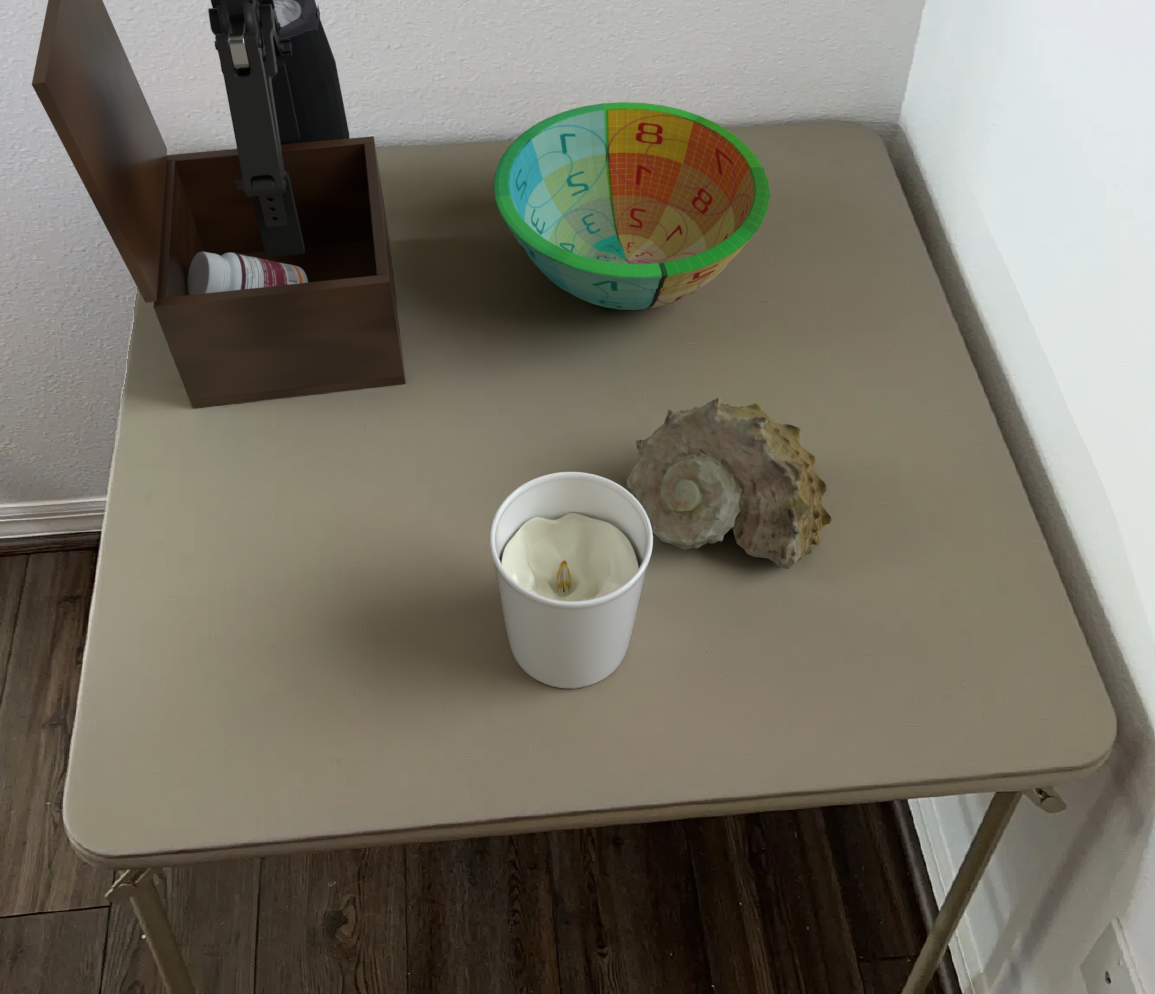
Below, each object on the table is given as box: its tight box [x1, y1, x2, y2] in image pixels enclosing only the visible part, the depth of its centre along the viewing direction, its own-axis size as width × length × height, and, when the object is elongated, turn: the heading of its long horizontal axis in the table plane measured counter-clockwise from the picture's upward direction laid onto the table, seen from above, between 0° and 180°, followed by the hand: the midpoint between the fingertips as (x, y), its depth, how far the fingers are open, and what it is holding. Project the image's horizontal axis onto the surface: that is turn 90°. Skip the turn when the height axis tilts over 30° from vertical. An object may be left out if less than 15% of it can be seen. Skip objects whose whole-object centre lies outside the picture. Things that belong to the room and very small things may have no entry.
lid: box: [31, 0, 168, 304], centre depth 78 cm, size 18×18×1 cm
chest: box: [152, 135, 407, 409], centre depth 91 cm, size 17×18×11 cm
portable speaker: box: [274, 0, 350, 145], centre depth 97 cm, size 9×9×20 cm
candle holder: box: [489, 471, 654, 689], centre depth 72 cm, size 10×10×12 cm
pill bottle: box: [187, 252, 308, 295], centre depth 90 cm, size 5×5×8 cm
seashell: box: [626, 397, 833, 570], centre depth 80 cm, size 11×15×10 cm
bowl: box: [493, 101, 771, 311], centre depth 95 cm, size 22×22×10 cm
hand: (284, 193), depth 85 cm, fingers open, 13 cm apart
